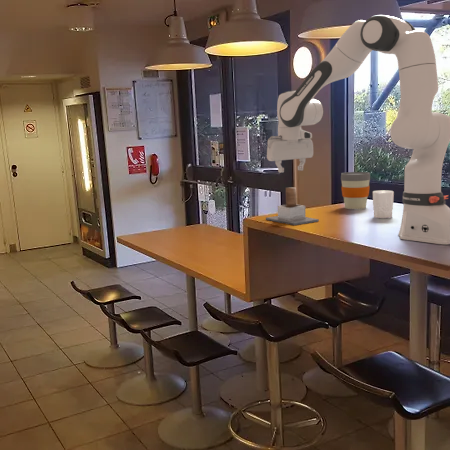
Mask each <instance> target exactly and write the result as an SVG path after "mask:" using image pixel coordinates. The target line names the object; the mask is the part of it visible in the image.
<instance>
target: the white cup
mask: <svg viewBox="0 0 450 450" xmlns="http://www.w3.org/2000/svg"><path fill="white" fill-rule="evenodd" d="M394 195H395V192H394V191H393V190H387V189H386V190H383V189H382V190H380V189H379V190H373V191H372V206H373V208H372V209H373V217H374V218H376V219H390V218H392V217H393V210H394Z"/></svg>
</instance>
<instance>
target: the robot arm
mask: <svg viewBox="0 0 450 450" xmlns="http://www.w3.org/2000/svg"><path fill="white" fill-rule="evenodd" d="M373 51H374V52H380V53H382V54H385V55H386V54H388V55H395V57H396V59H397V66H398V75H399V88H400V101H399V102H400V103H399V108H398V112H397V116H396V118H395V119H394V120H393V122H392V123H391V127H390V133H389V134H390V138H391V140H392V142H393V143H394V145H396V146H398V147H400V148H403V149H407V150H413V151H412V153H411V156H410V159H409V161H408V162H407V163H406V165H405V166H404V179H403V180H404V181H403V182H404V183H403V184H404V186H403V189H404V191H402V205H403V210H402V218H401V224H400V228H399V230H398V236H399V239H400V240H405V241H415V242H421V243H428V244H436V245H443V246H444V245H450V207H449V206H448V205H447V204H446V203H447V201H446V200H448V199H449V194H448V195H444V193H443V192H442V174H443V173H442V171H443V170H442V169H443V165H444V159H445V156H446V153H447V149H448V146H449V145H450V115H448V114H445V113H442V112H440V111H439V112H438V111H433V110H432V109H433V104H434V98H435V96H436V95H437V93H438V92H439V82H438V81H439V80H438V72H437V71H438V69H437V60H436V56H435V55H436V54H435V50H434V46H433V42H432V39H431V37H430V35H429V34H428V33H427V32H426V31H424V30H416V29H415V27H414V26H413V25H412V24H411V23H410V22H408V21H407V20H403V19H400V18H398V17H395V16H390V15H385V14H377V15H373V16H371V17H369V18H368V19H366V20H363V19H360V20H359V19H358V20H356V21H355V22H353V23H352V24H351V25H350V26H349V27H348V28H347V29H346V30H345V31H344V33H343V34H342V35H341V36H340V37H339V39H338V40H337V42H336V43H335V45H334V46H333V47H332V49H331V50H330V51H329V52H328V54H327V55H326V56H325V57H324V58H323V59H322V60H321V61H320V63H318V64H317V65H316V66H315V67H314V68H313V69H312V70H311V72H310V73H309V74H308V76H307V77H306V78H305V79H304V80H303V82H301V84H300V85H299V87H298V88H297V89H296V90H288V91H284V92H282V93H280V94H279V95H278V98H277V102H276V103H277V107H276V109H277V112H276V113H277V119H278V125H277V135H275V136H274V135H271V136H270V137H269V138H268V139H267V148H266V159H267V160H268V161H269V162H274V163H275V165H276V167H277V171H278V173H280V174H282V173H284V172H285V167H283V166H282V161H289V160H298V161H299V162H300V163H299V165H297V171H304V166H305V164H306V159H309V158H310V159H312V158H313V156H314V142H313V140H312V139H313V134H312V132H310V131H306V130H304V129H302V126H303V127H304V126H314V125H316V124H318V123H320V122H321V121H322V119H323V117H324V106H323V104H322V102H321V101H320V100H318V99H315V97H316V96H317V94H318V93H319V92H320V90H322V89H324V87H326V86H327V85H328V84H331V83H334V82H337V81H340V80H341V81H342V80H343V79H347V78H349V77H351V76H352V75H353V74H354V73H356V71H358V69H360V66H362V64H363V63H364V61H365V60H366V58H367V57H368V55H369V54H371V52H373ZM432 111H433V112H432Z"/></svg>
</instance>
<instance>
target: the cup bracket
mask: <svg viewBox="0 0 450 450" xmlns="http://www.w3.org/2000/svg"><path fill="white" fill-rule="evenodd" d="M296 206H297V207H286V204H282V205H277V215H275V216H269V217H265V220H266V221H269V222H275V223H280V224H284V223H285V224H284V225H289V224H290V226H299V225H300V226H301V225H305V224H312V223H318V221H319V219H318V218H313V217H309V216H308V217H307V216H306V205H303V204H302V205H301V204H297V203H296Z"/></svg>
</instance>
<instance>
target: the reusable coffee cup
mask: <svg viewBox="0 0 450 450" xmlns="http://www.w3.org/2000/svg"><path fill="white" fill-rule="evenodd" d="M370 180H371V174H370V172H368V171H349V172H341V175H340V181H341V186H340V187H341V188H340V189H341V196H342V197H343V204H344V209H348V210H365V209H366V208H367V202H368V197H369V195H370Z"/></svg>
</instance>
